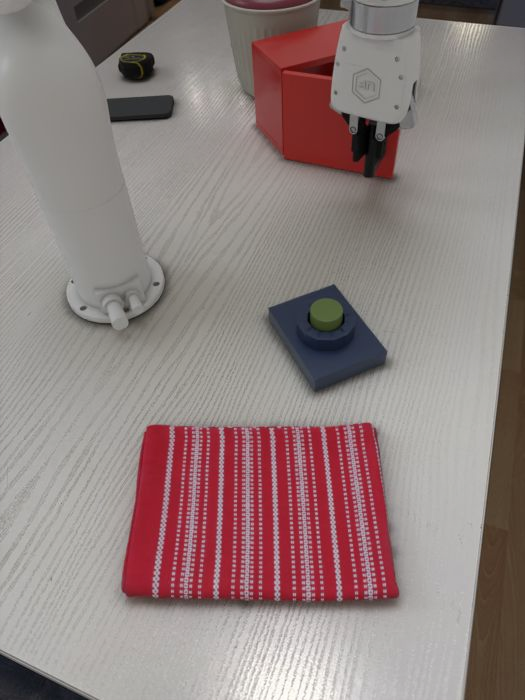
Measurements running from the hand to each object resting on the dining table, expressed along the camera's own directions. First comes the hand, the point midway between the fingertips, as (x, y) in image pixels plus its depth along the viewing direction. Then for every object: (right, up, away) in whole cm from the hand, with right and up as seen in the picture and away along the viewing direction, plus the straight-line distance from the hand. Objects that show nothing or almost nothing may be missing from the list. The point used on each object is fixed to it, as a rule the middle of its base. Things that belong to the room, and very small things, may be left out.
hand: (367, 158), depth 76 cm
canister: (-12, +24, +30) cm, 40 cm away
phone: (-39, +18, +26) cm, 50 cm away
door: (-4, 0, +9) cm, 10 cm away
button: (-8, -23, -15) cm, 29 cm away
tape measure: (-41, +30, +36) cm, 62 cm away
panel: (-7, -26, -12) cm, 29 cm away
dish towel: (-15, -42, -24) cm, 51 cm away
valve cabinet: (-5, +12, +19) cm, 24 cm away
